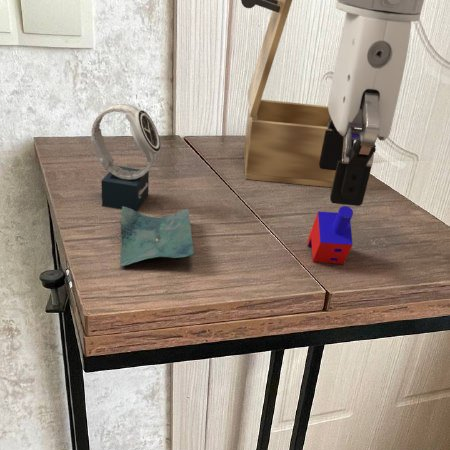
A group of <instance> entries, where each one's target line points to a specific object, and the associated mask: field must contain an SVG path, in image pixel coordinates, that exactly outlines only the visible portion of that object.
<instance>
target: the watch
mask: <svg viewBox="0 0 450 450" xmlns="http://www.w3.org/2000/svg"><path fill="white" fill-rule="evenodd" d="M114 112H115V113H121V114H124V116H125V118H126V119H127V121H128V123H129V127H130V132H131V134H132V137H133V140H134V142H135V144H136V145H137V147H138V148H139V150H140V151H141V152H142V153H143V154H145V157H146V160H147V162H148V165H147V166H145V167H144V168H143V169H140V168H135V167H134V168H133V167H127V166H120V165H117V164H116V163H115V162H114V161H115V159H114V158H113V156H112V154H111V152H110V151H109V149H108V146H107V144H106V142H105V138H104V135H102V129H101V122H102V120H103V118H104V117H105V116H106V115H107V114H110V113H114ZM90 142H91V145H92V148H93V151H94V153H95V155H96V157H97V159H98V161H99V163H100V164H101V166H102V167H103V169H104V170H105V171H108V173H107V174H106V175H105V176H104V177H103V178H102V179H101V180H100V181H101V183H100V184H101V206H102V207H106V208H112V209H120V210H122V206H124V207H127V208H130V209H132V210H135V211H136V212H138V210H139V209H140V207H141V206H142V205H143V203H144V202H145V201H146V199H147V197H148V196H149V181H150V180H149V178H150V177H149V174H150V173H149V171H150V169H151V168H152V167H153V165H154V164H155V163H156V161H157V159H158V156H159V153H160V151H161V148H162V147H161V146H162V145H161V139H160V134H159V131H158V129H157V127H156V124H155V123H154V121H153V119H152V118H151V116H150V115H149V114H148V113H147V112H146V111H145V110H144V109H139V108H138V107H137V106H134V105H131V104H128V103H118V104H112V105H111V106H109V107H107V108H106V109H105V110H103V111H102V112H101V113H100V114H99V115H98V116H96V118H95V119H94V121H93V123H92V128H91V138H90Z"/></svg>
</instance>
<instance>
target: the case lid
mask: <svg viewBox="0 0 450 450" xmlns="http://www.w3.org/2000/svg"><path fill="white" fill-rule="evenodd" d="M240 2H241V5H242V6H243V7H244V8H246V9H252V8H254V7H255V6H258V7H261V8H263V9H267V10H269V11H271V15H270V17H269V22H268V24H267V27H266V31H265V34H264V37H263V41H262V44H261V48H260V50H259V55H258V58H257V62H256V64H255V67H254V70H253V74H252V78H251V81H250V84H249V86H248V87H249V88H248V91H247V103H248V109H249V114H250V117H253V118H255V117H256V114H257V111H258V108H259V105H260V101H261V99H262V98H263V94H264V92H265V89H266V86H267V82H268V79H269V76H270V72H271V70H272V67H273V63H274V60H275V57H276V53H277V50H278V48H279V44H280V41H281V38H282V35H283V31H284V29H285V25H286V23H287V19H288V16H289V12H290V9H291V6H292V3H293V0H240Z"/></svg>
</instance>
